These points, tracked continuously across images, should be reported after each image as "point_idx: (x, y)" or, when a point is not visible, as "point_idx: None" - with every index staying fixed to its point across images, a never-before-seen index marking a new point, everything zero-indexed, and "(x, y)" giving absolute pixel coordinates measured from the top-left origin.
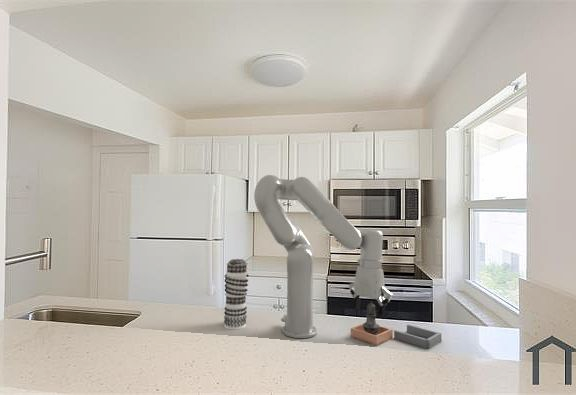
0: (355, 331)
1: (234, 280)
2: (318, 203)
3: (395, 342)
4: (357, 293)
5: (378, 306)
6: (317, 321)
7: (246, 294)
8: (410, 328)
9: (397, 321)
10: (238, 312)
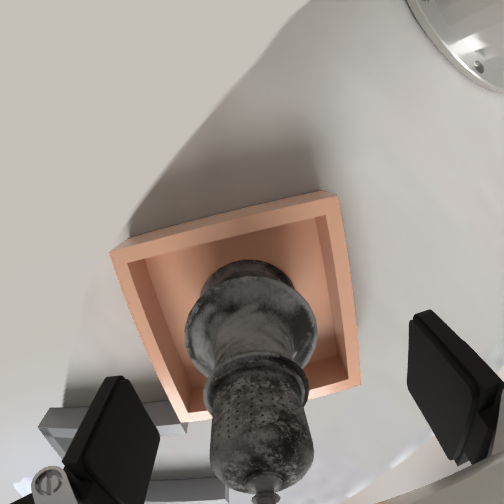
0: (289, 203)
1: None
2: None
3: (135, 363)
4: (499, 474)
5: (76, 453)
6: None
7: None
8: (208, 491)
9: (331, 501)
10: None
